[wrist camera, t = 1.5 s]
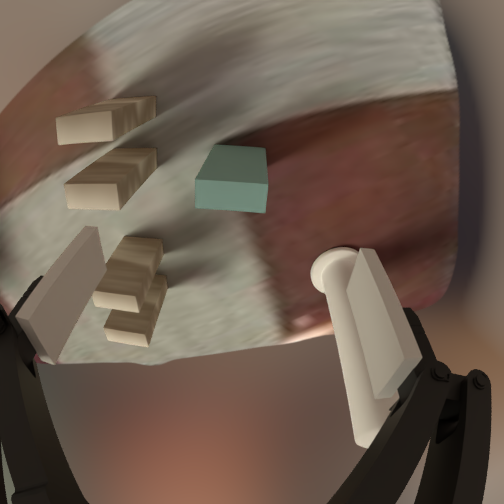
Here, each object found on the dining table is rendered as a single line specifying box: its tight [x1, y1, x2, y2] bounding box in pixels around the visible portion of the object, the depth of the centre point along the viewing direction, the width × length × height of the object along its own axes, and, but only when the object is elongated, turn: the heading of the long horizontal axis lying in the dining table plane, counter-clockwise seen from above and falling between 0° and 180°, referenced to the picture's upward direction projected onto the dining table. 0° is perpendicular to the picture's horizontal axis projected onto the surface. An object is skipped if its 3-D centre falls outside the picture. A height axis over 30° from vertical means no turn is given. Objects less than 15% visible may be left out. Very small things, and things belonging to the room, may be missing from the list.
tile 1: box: [56, 96, 156, 145], centre depth 22 cm, size 2×5×10 cm, turn 86°
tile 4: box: [92, 236, 164, 313], centre depth 31 cm, size 2×5×10 cm, turn 86°
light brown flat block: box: [104, 275, 168, 347], centre depth 34 cm, size 2×5×10 cm, turn 86°
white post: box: [311, 247, 399, 449], centre depth 26 cm, size 7×7×25 cm
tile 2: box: [64, 148, 157, 210], centre depth 25 cm, size 2×5×10 cm, turn 85°
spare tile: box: [195, 145, 268, 213], centre depth 25 cm, size 2×5×10 cm, turn 86°
